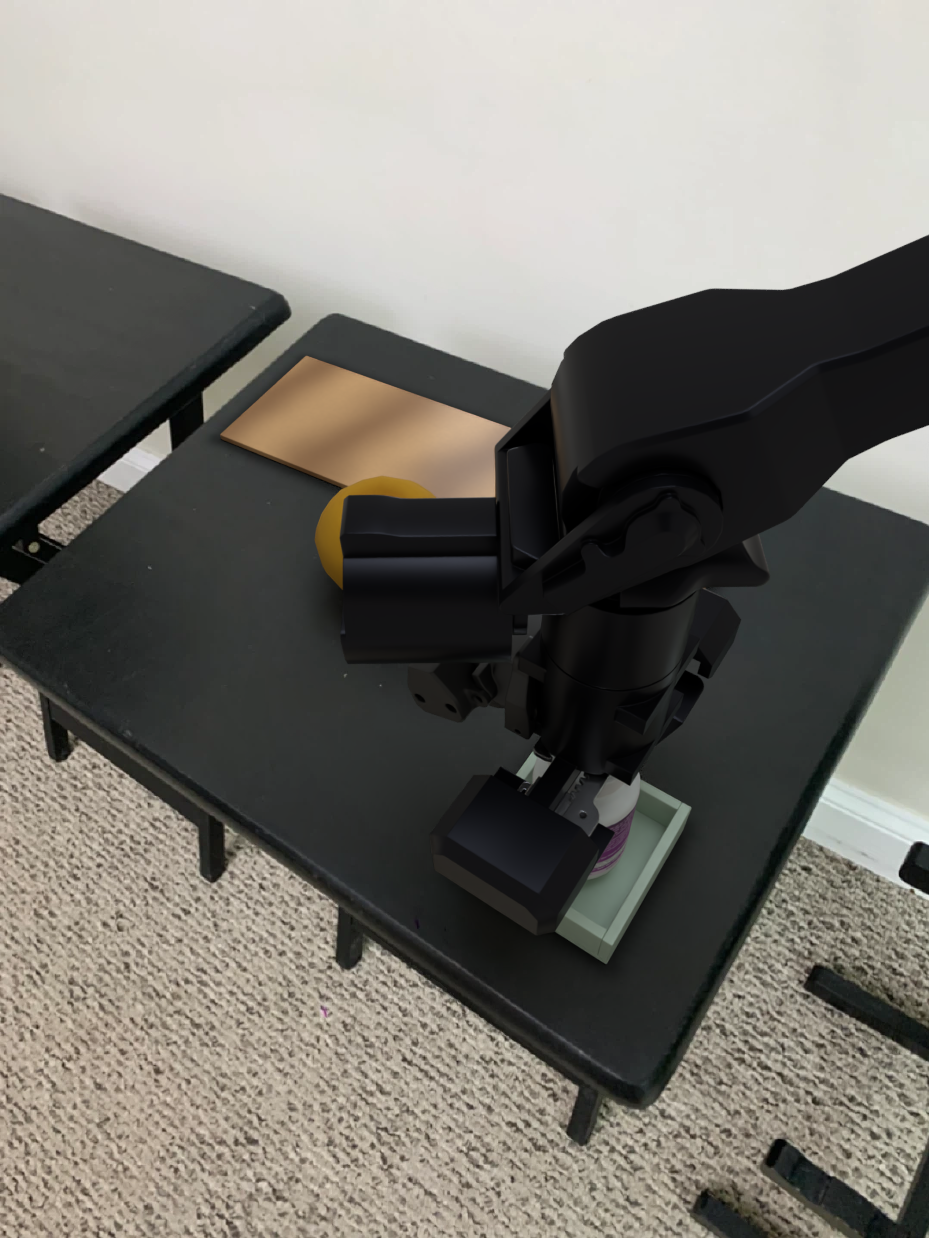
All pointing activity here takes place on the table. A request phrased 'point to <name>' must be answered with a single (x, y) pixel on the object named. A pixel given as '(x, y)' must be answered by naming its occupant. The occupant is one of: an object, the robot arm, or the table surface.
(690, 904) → the table surface
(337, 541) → the apple
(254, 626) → the table surface
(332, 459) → the wooden board
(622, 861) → the tray
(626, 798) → the pill bottle
